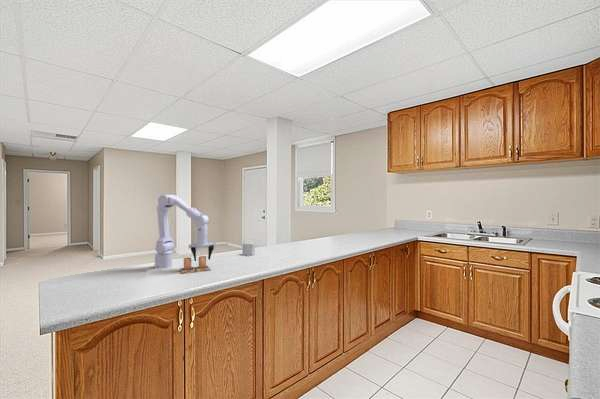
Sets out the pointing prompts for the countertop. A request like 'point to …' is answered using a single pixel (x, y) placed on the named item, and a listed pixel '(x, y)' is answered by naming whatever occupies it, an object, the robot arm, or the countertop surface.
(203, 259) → the terracotta peg
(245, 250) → the medicine box
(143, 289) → the countertop surface
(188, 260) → the peg
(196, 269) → the board
